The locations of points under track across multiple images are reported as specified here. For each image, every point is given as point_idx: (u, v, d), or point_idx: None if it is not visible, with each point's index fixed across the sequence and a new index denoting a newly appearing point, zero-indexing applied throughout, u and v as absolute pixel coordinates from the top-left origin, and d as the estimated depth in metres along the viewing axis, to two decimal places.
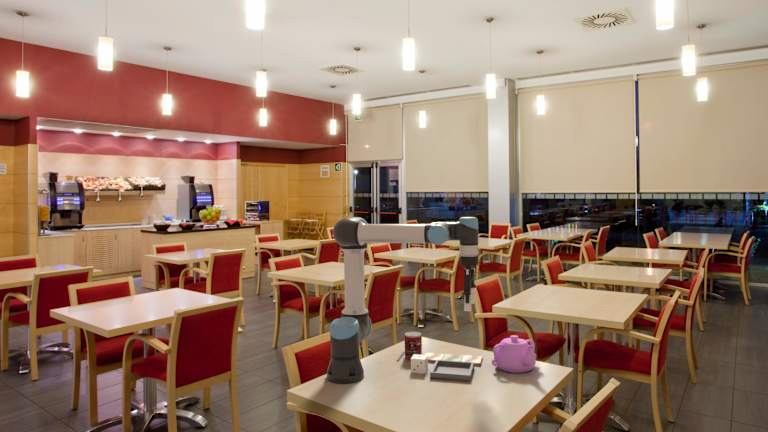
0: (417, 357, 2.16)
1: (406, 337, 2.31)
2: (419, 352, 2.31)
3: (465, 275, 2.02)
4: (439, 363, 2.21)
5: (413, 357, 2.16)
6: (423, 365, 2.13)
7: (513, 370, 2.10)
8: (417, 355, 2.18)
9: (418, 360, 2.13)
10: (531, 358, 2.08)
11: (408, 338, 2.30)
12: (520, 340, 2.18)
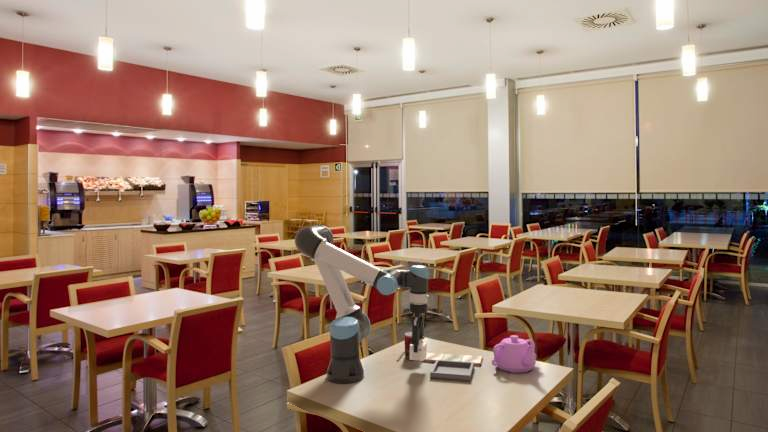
0: None
1: (406, 337, 2.31)
2: None
3: (413, 326, 2.10)
4: (439, 363, 2.21)
5: (412, 344, 2.16)
6: (422, 352, 2.13)
7: (513, 370, 2.10)
8: None
9: None
10: (531, 358, 2.08)
11: (408, 338, 2.30)
12: (520, 340, 2.18)
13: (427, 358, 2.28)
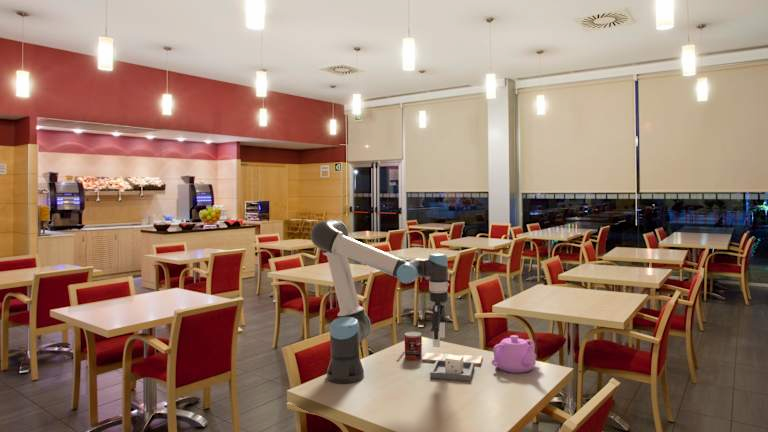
0: (460, 364, 2.10)
1: (406, 337, 2.31)
2: (419, 352, 2.31)
3: (434, 312, 2.07)
4: (439, 363, 2.21)
5: (460, 361, 2.10)
6: (453, 372, 2.10)
7: (513, 370, 2.10)
8: (462, 361, 2.13)
9: (457, 368, 2.09)
10: (531, 358, 2.08)
11: (408, 338, 2.30)
12: (520, 340, 2.18)
13: (427, 358, 2.28)
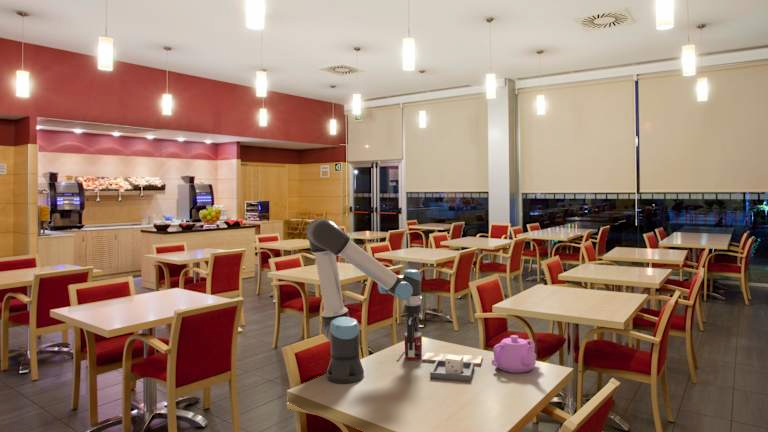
0: (460, 364, 2.10)
1: (406, 337, 2.31)
2: (419, 352, 2.31)
3: (408, 325, 2.27)
4: (439, 363, 2.21)
5: (460, 361, 2.10)
6: (453, 372, 2.10)
7: (513, 370, 2.10)
8: (462, 361, 2.13)
9: (457, 368, 2.09)
10: (531, 358, 2.08)
11: None
12: (520, 340, 2.18)
13: (427, 358, 2.28)
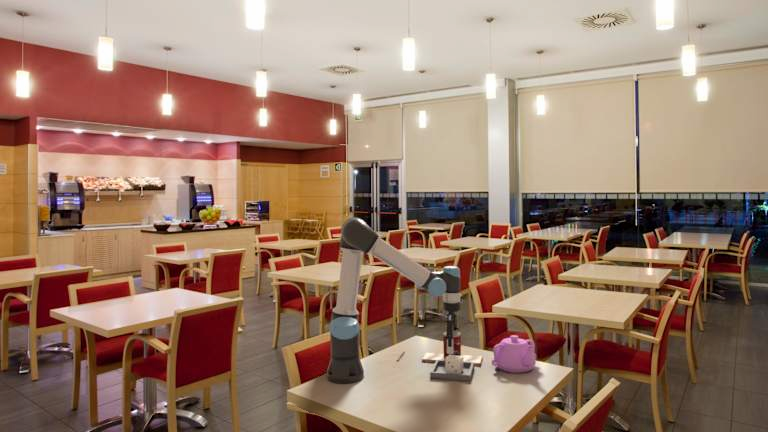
0: (460, 364, 2.10)
1: None
2: (459, 352, 2.26)
3: (448, 321, 2.22)
4: (439, 363, 2.21)
5: (460, 361, 2.10)
6: (453, 372, 2.10)
7: (513, 370, 2.10)
8: (462, 361, 2.13)
9: (457, 368, 2.09)
10: (531, 358, 2.08)
11: None
12: (520, 340, 2.18)
13: (427, 358, 2.28)
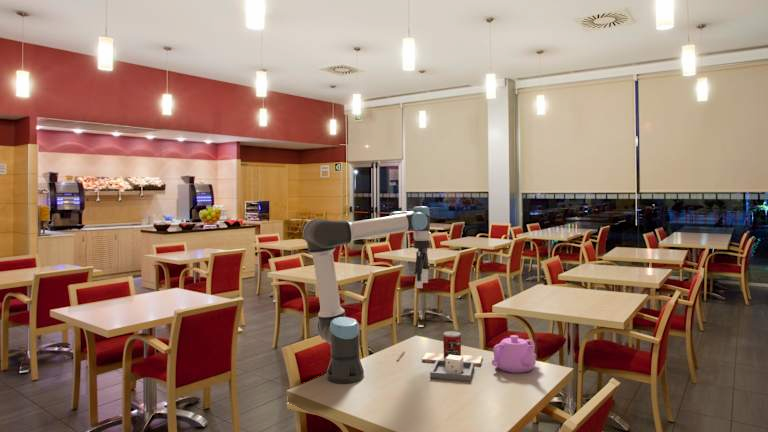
0: (460, 364, 2.10)
1: (445, 337, 2.26)
2: (459, 352, 2.26)
3: (417, 256, 2.32)
4: (439, 363, 2.21)
5: (460, 361, 2.10)
6: (453, 372, 2.10)
7: (513, 370, 2.10)
8: (462, 361, 2.13)
9: (457, 368, 2.09)
10: (531, 358, 2.08)
11: (447, 338, 2.25)
12: (520, 340, 2.18)
13: (427, 358, 2.28)
